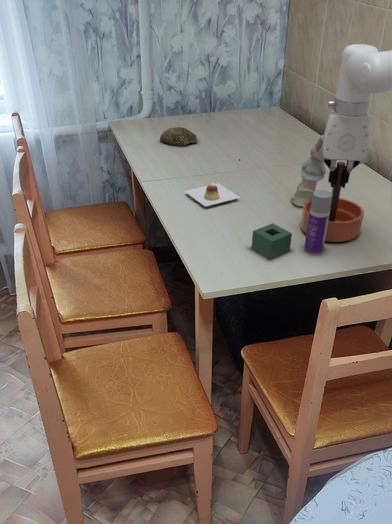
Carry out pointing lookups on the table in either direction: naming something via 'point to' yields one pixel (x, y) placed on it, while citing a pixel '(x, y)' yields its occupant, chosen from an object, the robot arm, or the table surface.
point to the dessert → (212, 194)
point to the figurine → (310, 176)
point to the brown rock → (178, 136)
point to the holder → (271, 241)
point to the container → (318, 222)
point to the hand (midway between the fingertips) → (337, 184)
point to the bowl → (339, 221)
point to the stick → (336, 190)
